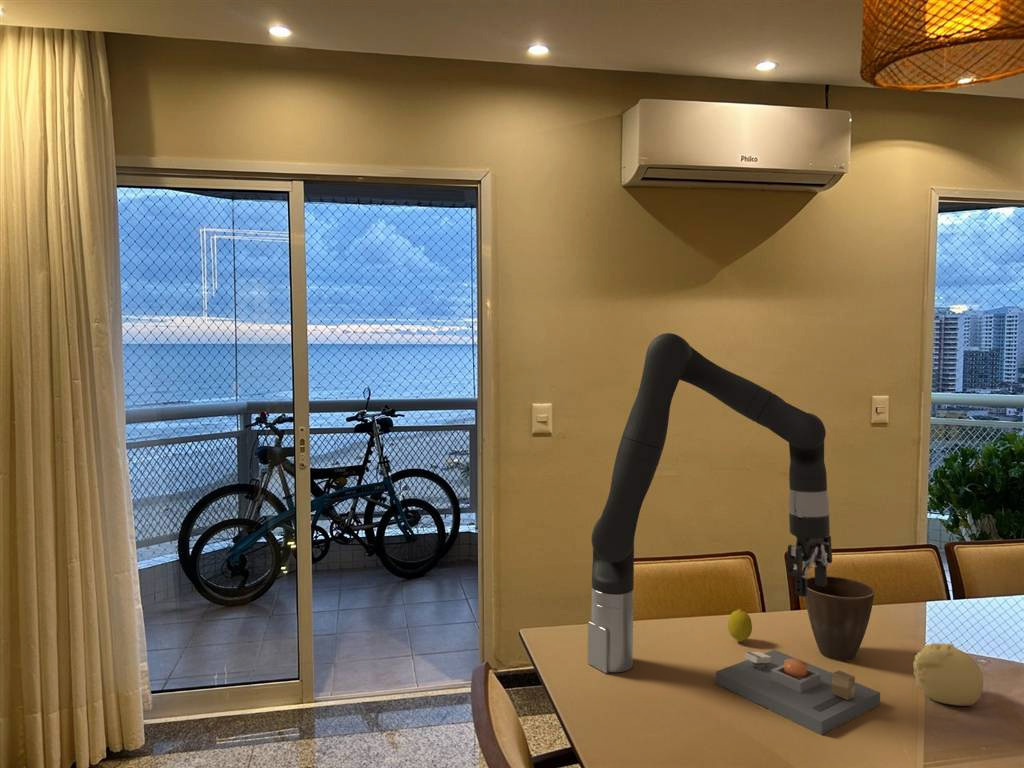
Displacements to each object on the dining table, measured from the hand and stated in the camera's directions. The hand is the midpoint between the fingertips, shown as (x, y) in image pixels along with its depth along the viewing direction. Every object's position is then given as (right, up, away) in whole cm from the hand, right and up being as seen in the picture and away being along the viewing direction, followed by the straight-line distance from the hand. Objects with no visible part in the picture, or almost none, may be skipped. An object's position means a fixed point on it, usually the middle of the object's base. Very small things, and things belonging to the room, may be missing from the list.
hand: (811, 590), depth 140 cm
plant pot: (+14, -21, +19) cm, 32 cm away
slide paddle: (+4, -19, -6) cm, 20 cm away
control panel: (-3, -21, 0) cm, 21 cm away
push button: (-3, -17, 0) cm, 17 cm away
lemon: (-6, -21, +26) cm, 34 cm away
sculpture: (+27, -22, -1) cm, 34 cm away
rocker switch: (-8, -17, +8) cm, 20 cm away
